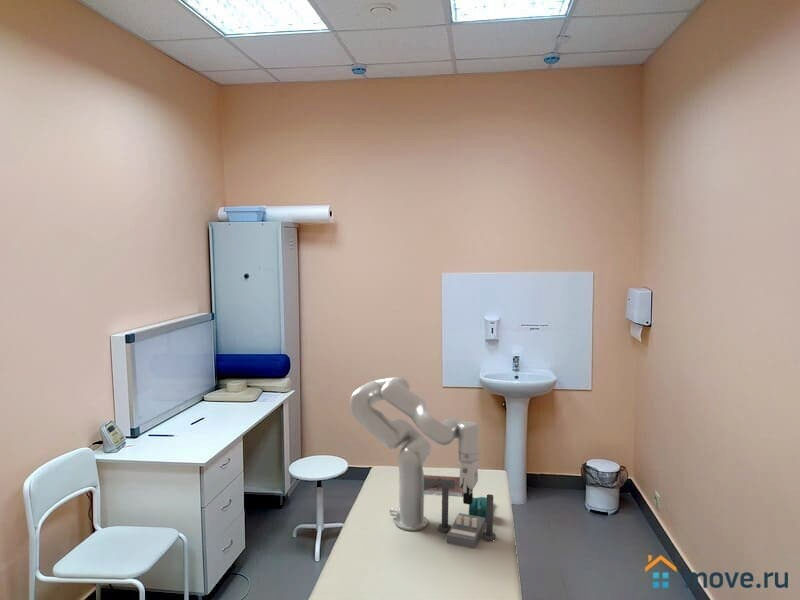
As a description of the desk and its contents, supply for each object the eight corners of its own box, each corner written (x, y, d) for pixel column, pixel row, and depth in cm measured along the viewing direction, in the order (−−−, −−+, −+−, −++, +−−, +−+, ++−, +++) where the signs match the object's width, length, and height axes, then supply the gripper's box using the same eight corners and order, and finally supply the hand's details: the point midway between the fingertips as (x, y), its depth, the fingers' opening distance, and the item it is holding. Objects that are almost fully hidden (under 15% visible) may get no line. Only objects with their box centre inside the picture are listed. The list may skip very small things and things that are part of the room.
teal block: (485, 523, 217) (486, 504, 217) (468, 520, 219) (469, 501, 219) (492, 503, 235) (492, 485, 234) (476, 501, 237) (476, 483, 236)
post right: (480, 540, 205) (481, 497, 203) (483, 533, 209) (484, 492, 208) (494, 542, 203) (495, 499, 201) (497, 536, 208) (498, 494, 206)
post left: (436, 531, 211) (437, 490, 209) (440, 525, 215) (440, 484, 214) (449, 533, 209) (450, 492, 207) (452, 527, 214) (453, 486, 212)
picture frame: (412, 494, 243) (461, 497, 241) (412, 489, 243) (462, 492, 241) (415, 479, 260) (462, 481, 257) (415, 474, 260) (462, 476, 257)
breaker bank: (456, 524, 210) (456, 516, 209) (457, 522, 211) (457, 515, 211) (476, 527, 207) (476, 520, 207) (477, 526, 208) (477, 518, 208)
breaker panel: (446, 542, 203) (446, 534, 202) (459, 520, 219) (459, 512, 219) (474, 548, 199) (474, 539, 199) (485, 525, 216) (485, 517, 215)
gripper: (473, 464, 198) (473, 513, 200) (482, 449, 212) (482, 496, 214) (453, 461, 201) (452, 510, 202) (463, 447, 215) (463, 493, 216)
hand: (467, 503), depth 208 cm, fingers closed
